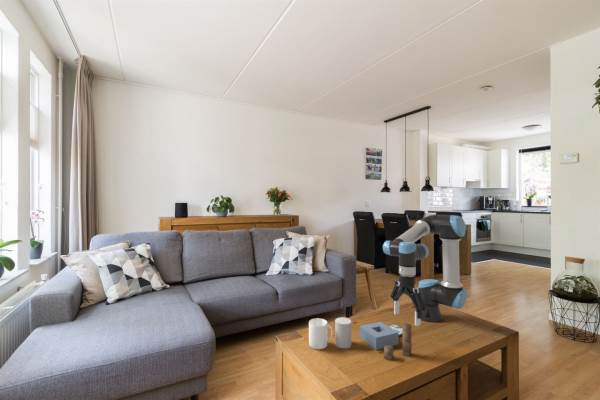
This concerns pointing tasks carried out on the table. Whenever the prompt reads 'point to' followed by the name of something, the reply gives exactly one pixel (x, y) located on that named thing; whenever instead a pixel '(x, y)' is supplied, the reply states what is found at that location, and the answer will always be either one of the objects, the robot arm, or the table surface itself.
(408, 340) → the long dowel
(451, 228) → the robot arm
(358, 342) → the table surface
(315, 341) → the mug
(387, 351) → the short dowel
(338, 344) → the cup
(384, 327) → the socket block
